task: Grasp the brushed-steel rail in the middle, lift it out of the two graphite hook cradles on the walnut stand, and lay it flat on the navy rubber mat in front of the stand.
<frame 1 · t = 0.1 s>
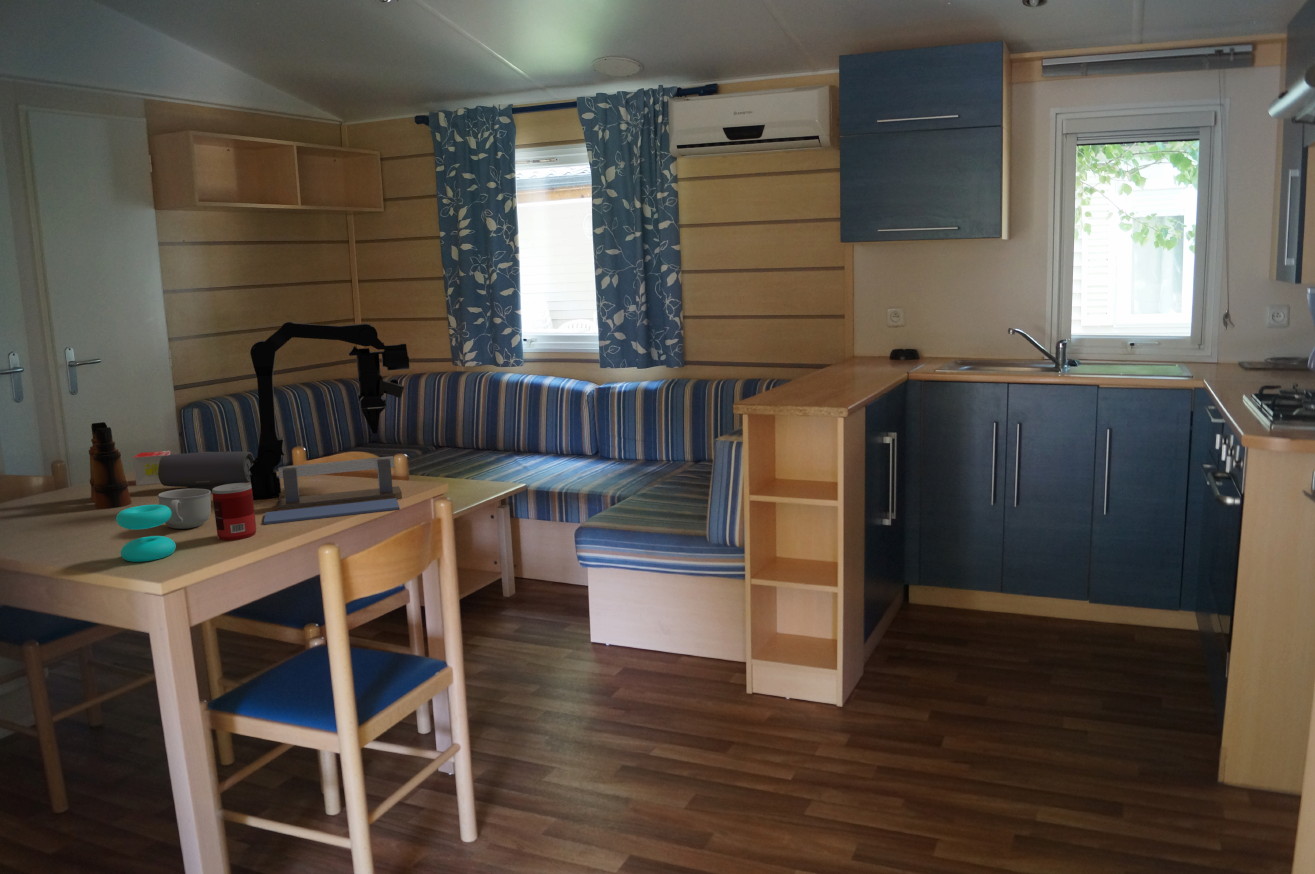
hand: (374, 430, 258), 15 cm above the table, fingers open, 9 cm apart
canned food: (237, 536, 213), on the table
teacup: (185, 528, 223), on the table
bluetooth speaker: (210, 489, 265), on the table
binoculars: (111, 502, 253), on the table
mat: (332, 512, 232), on the table
donuts: (149, 557, 200), on the table
stand: (340, 501, 243), on the table
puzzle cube: (155, 482, 278), on the table
rail: (337, 471, 241), point 7 cm above the table, touching stand
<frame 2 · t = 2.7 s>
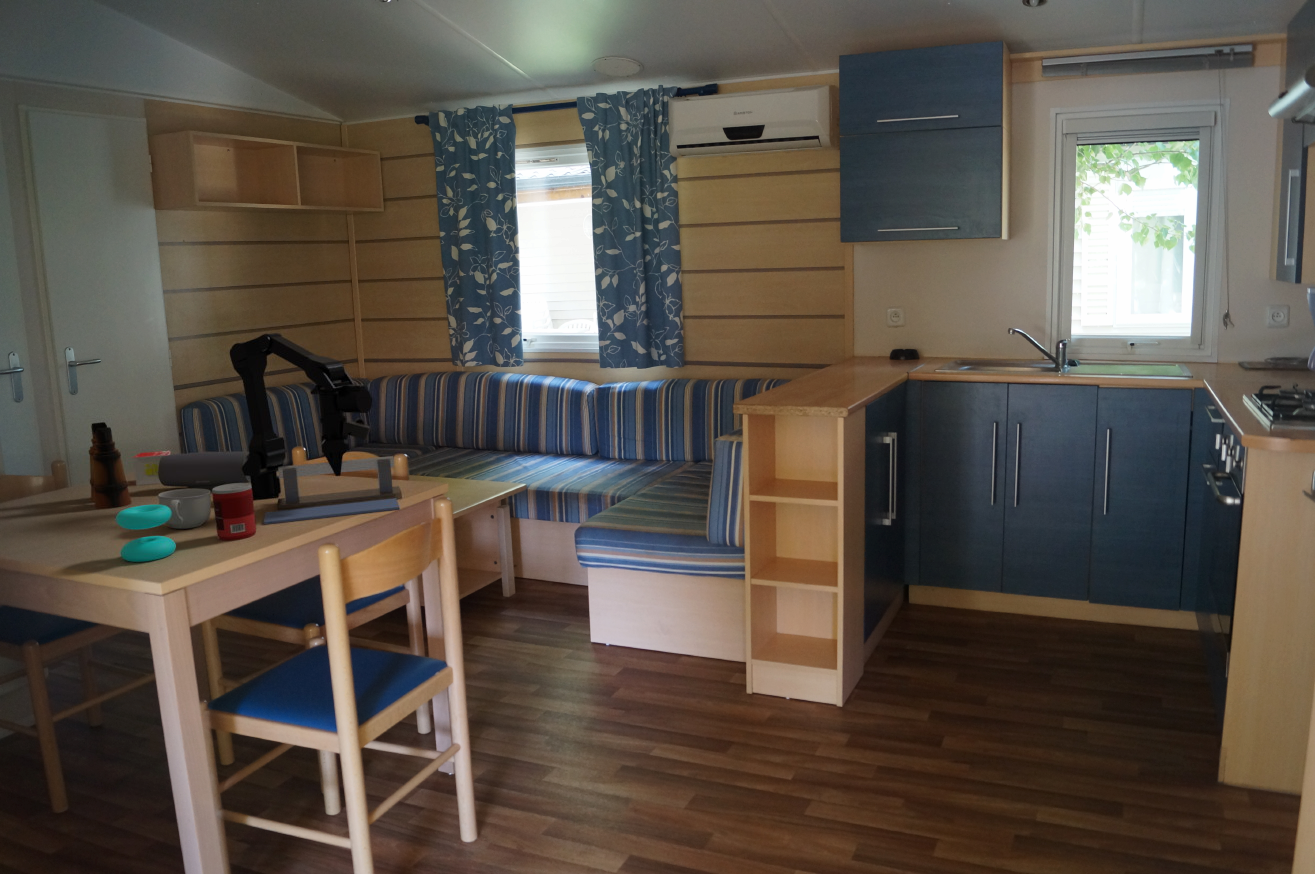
hand: (338, 474, 242), 7 cm above the table, fingers closed on rail, 2 cm apart
rail: (337, 471, 241), point 7 cm above the table, touching gripper, stand
everything else where it was.
when the fingers open (1 cm above the table, at t = 7.1 s): rail drops 2 cm, resting on mat.
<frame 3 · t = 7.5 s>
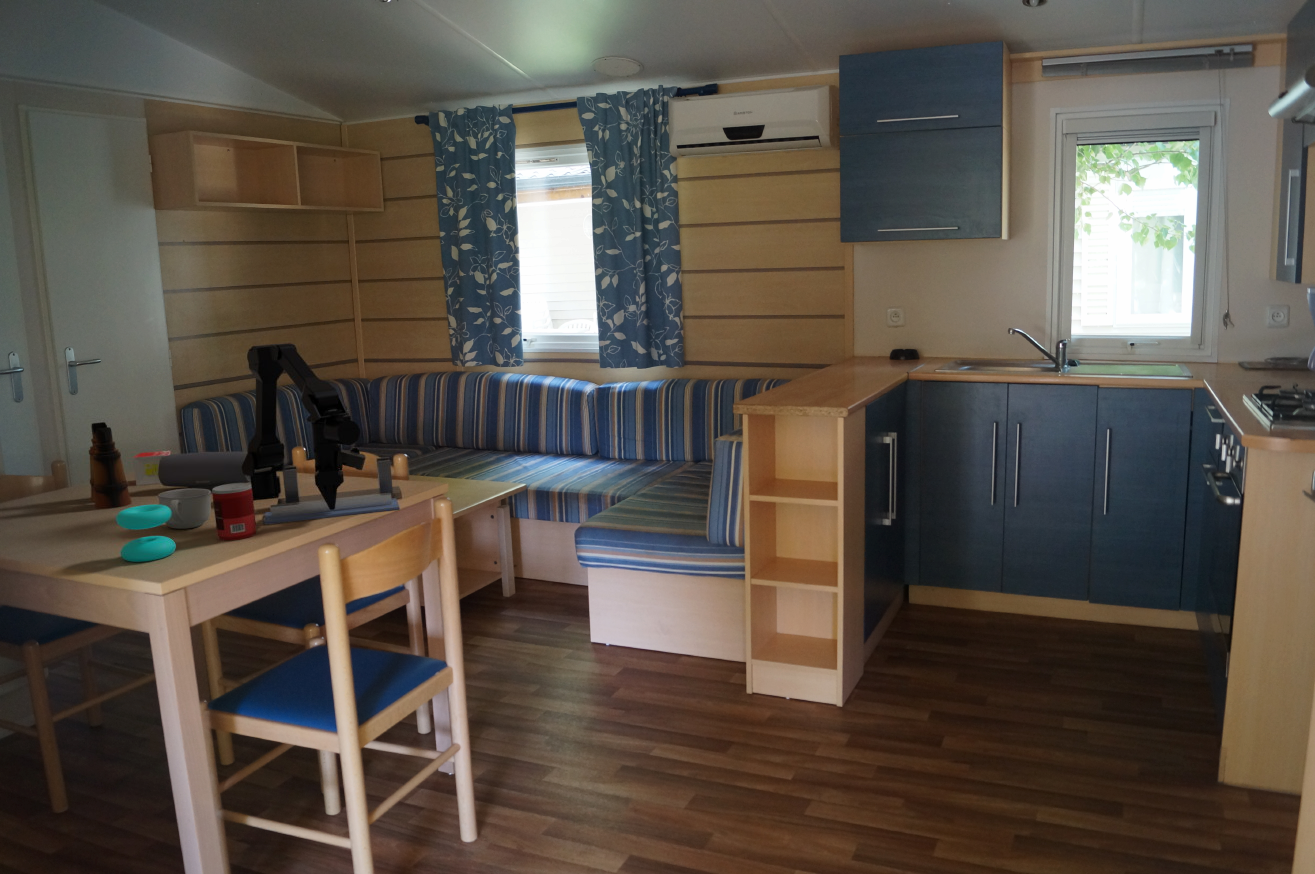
hand: (332, 506, 232), 1 cm above the table, fingers open, 7 cm apart
rail: (332, 509, 232), point 1 cm above the table, touching mat
everything else where it was.
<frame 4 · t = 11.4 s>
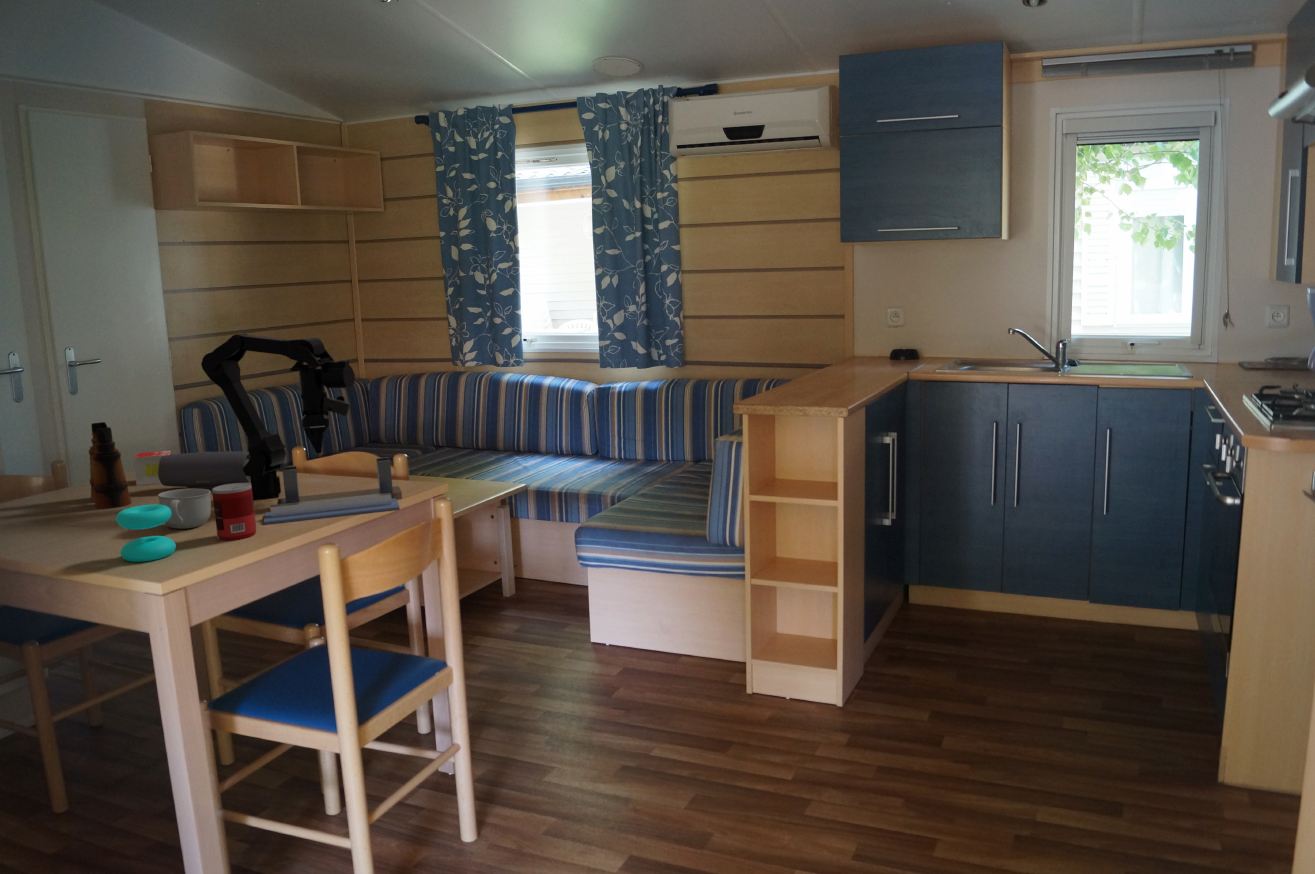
hand: (318, 450, 247), 12 cm above the table, fingers open, 9 cm apart
nothing on the table moved.
at the end: rail inside the target area (0.0 cm from its centre), point 0.6 cm above the table; rail touching mat; rail tilted 0° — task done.
